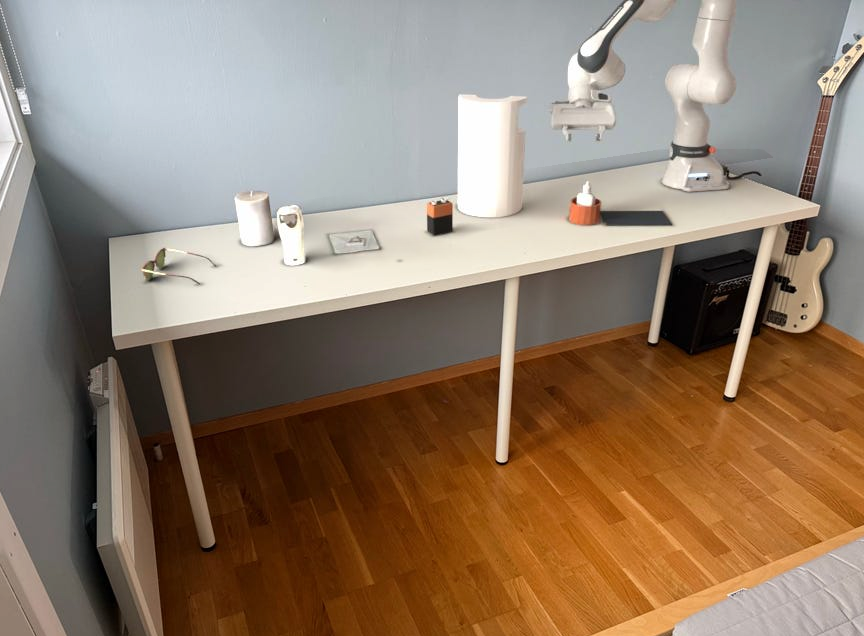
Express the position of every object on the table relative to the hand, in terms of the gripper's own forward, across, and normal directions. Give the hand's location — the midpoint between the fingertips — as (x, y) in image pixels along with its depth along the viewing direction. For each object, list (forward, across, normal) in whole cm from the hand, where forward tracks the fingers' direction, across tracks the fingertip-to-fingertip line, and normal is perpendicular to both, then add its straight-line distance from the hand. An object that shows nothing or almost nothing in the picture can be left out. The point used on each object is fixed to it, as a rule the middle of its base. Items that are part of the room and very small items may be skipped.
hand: (583, 140), depth 226 cm
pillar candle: (+37, -99, -6) cm, 106 cm away
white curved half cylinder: (+19, -30, +11) cm, 37 cm away
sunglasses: (+54, -114, -23) cm, 128 cm away
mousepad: (+41, -67, -10) cm, 79 cm away
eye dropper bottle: (+24, 0, +5) cm, 25 cm away
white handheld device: (+48, -85, -16) cm, 99 cm away
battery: (+32, -45, -1) cm, 55 cm away
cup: (+24, 0, +6) cm, 25 cm away
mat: (+24, +16, +6) cm, 29 cm away
